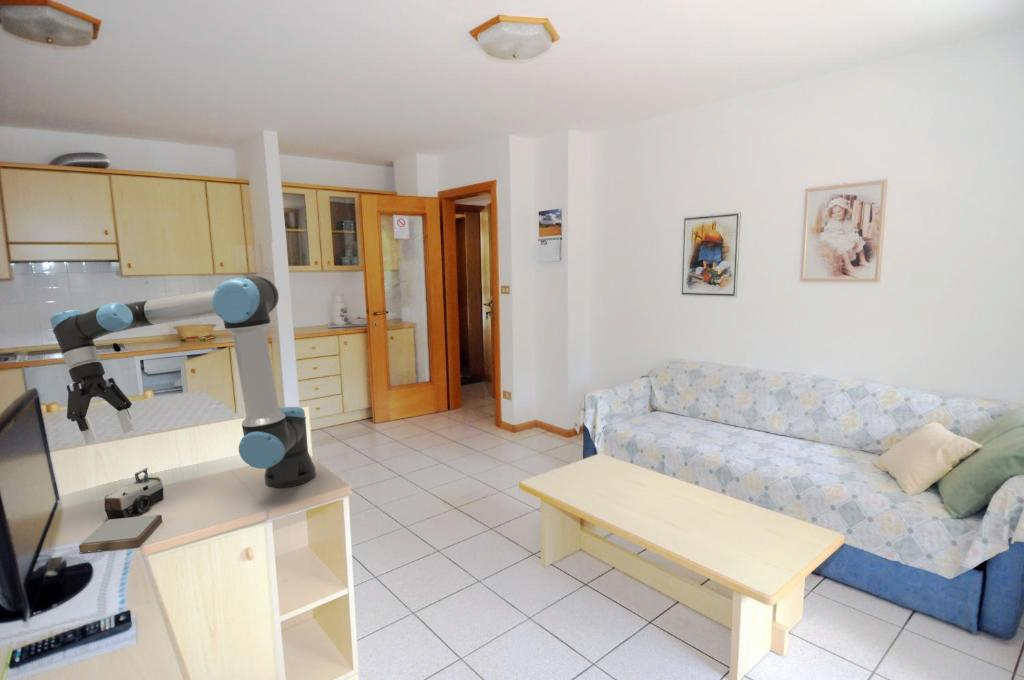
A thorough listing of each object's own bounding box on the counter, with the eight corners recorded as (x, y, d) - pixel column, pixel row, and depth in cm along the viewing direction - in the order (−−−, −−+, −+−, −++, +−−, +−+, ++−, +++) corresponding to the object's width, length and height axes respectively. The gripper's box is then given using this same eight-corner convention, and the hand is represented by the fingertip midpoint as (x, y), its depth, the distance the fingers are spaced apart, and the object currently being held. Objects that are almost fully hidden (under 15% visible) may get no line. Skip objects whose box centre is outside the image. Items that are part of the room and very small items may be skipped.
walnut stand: (162, 521, 146) (161, 513, 145) (139, 546, 133) (138, 538, 133) (108, 526, 143) (107, 518, 143) (79, 553, 131) (78, 544, 130)
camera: (127, 523, 145) (122, 488, 144) (103, 521, 147) (98, 486, 145) (171, 498, 160) (167, 466, 158) (149, 496, 161) (145, 465, 160)
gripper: (106, 366, 163) (131, 432, 164) (31, 373, 138) (60, 451, 139) (129, 358, 163) (154, 423, 163) (58, 363, 138) (87, 441, 138)
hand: (111, 436), depth 151 cm, fingers open, 13 cm apart
